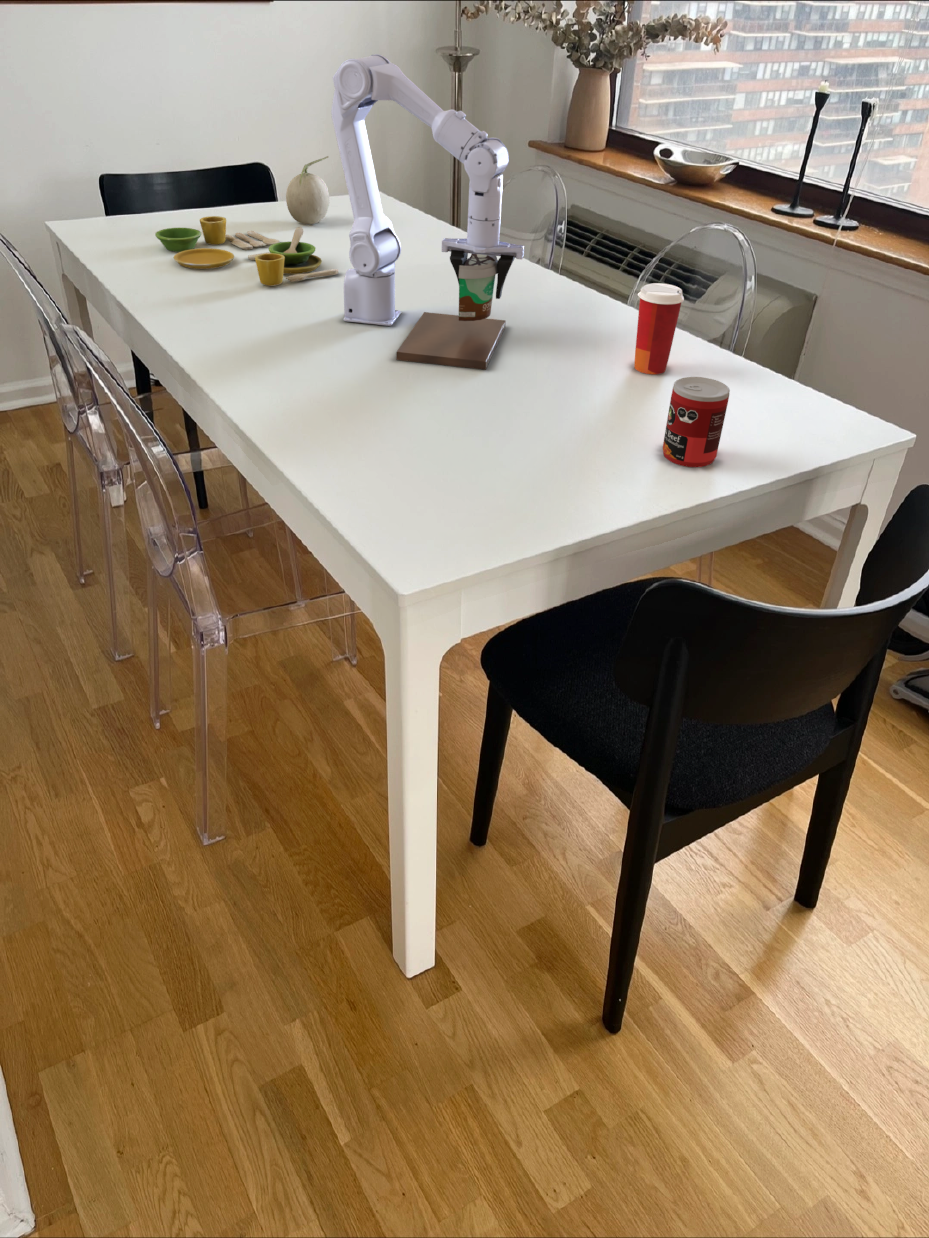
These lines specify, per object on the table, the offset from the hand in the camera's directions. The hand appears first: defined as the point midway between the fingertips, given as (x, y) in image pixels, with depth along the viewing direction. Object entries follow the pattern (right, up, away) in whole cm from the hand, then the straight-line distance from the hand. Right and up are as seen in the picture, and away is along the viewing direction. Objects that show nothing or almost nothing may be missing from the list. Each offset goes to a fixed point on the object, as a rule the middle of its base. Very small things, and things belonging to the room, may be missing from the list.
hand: (480, 295), depth 178 cm
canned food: (+30, -35, -32) cm, 56 cm away
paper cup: (+30, -15, -4) cm, 34 cm away
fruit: (-42, +39, +66) cm, 87 cm away
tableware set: (-52, +20, +38) cm, 67 cm away
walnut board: (-5, -8, +2) cm, 10 cm away
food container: (0, -3, +2) cm, 4 cm away
